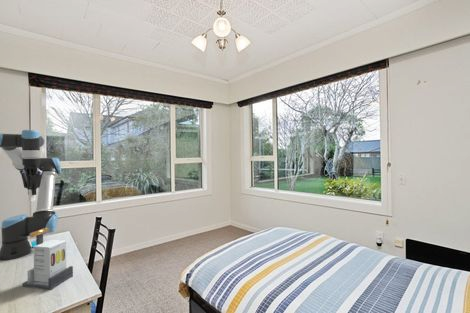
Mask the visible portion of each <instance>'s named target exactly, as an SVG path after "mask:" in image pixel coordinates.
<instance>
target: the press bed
mask: <svg viewBox="0 0 470 313" xmlns="http://www.w3.org/2000/svg"><path fill="white" fill-rule="evenodd" d="M73 276H74V267H73V266H72V265H69V267H66V269H65V270H63V271H61V272H59V273H57V274H56V275H54V276H52V277H50V278H49V279H48V283H47V282H40V281H34V280H33V281H31V282H28V280H27V281H24V282H23V283H21V284H22V287H24V288H32V289H40V290H49V291H51V290H53V289H55V288H56V287H58V286H59V285H61V284H63V283H64V282H66V281H68V280H69V279H71V278H72V277H73Z"/></svg>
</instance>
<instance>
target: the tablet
mask: <svg viewBox="0 0 470 313" xmlns="http://www.w3.org/2000/svg"><path fill="white" fill-rule="evenodd" d="M47 241H48V240H46V241H43V243H44V242H47ZM29 243H30V245H31V248H34V246H36V240H33V241H31V242H29Z"/></svg>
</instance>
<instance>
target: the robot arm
mask: <svg viewBox="0 0 470 313" xmlns="http://www.w3.org/2000/svg"><path fill="white" fill-rule="evenodd" d="M44 144H45V138H44V137H43V136H42V135H41V134H40V131H39V130H37V129H23V130H21V133H0V148H1V149H2V150H3V152H4V153H5V154H6V155H7V156H8V158H9V159H10V161H11V162H12V165H13V167H14V169H15V170H17V171H19V173H20V176H21V179H22V184H23V187H24V189H27V194H28V202H35V201H36V209H35V211H34V212H33V213H32V216H28V215H27V214H19V215H14V216H10V217H7V218H5V219H4V220H2V222H1V227H0V229H1V247H0V260H1V261H5V260H6V261H7V260H15V259H17V258H22V257H24V256H26V255H29V254H31V252H32V249H33V247H31V245H30V243H31V242H30V241H29V237H30V236H29V234H30V233H32V232H35V231H38V230H41V229H44V228H49V231H48V232H46V233H43V235H47V234H52V233H54V232H55V231H56V229H57V226H58V220H59V214H57V213H56V211H55V210H54V199H55V188H56V178H58V177H59V174H62V167H61V161H60V159H59V158H58V157H41V147H43V146H44ZM37 189H38V192H37Z"/></svg>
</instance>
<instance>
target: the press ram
mask: <svg viewBox="0 0 470 313" xmlns="http://www.w3.org/2000/svg"><path fill="white" fill-rule="evenodd" d="M48 231H49V228H44V229H41V230H38V231H35V232H32V233H30V234H29V236H28V237H30V238H35V239H36V240H35V241H36V245H39V244H41V243H43V242H44V234H43V233H46V232H48ZM33 280H34V267H33V268H31V269H29V270H28V271H27V281H28V282H31V281H33Z"/></svg>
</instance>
